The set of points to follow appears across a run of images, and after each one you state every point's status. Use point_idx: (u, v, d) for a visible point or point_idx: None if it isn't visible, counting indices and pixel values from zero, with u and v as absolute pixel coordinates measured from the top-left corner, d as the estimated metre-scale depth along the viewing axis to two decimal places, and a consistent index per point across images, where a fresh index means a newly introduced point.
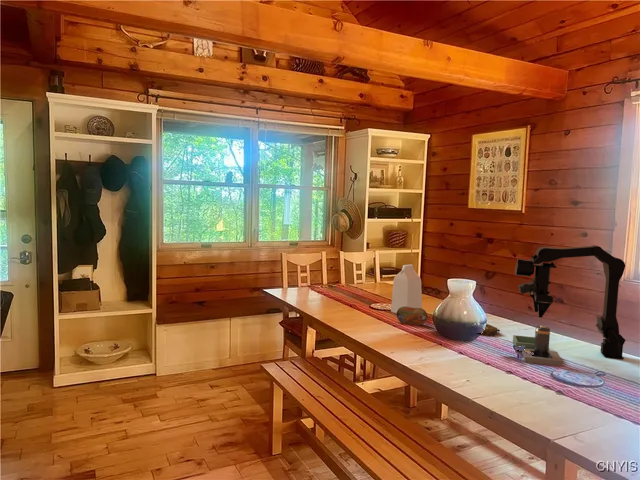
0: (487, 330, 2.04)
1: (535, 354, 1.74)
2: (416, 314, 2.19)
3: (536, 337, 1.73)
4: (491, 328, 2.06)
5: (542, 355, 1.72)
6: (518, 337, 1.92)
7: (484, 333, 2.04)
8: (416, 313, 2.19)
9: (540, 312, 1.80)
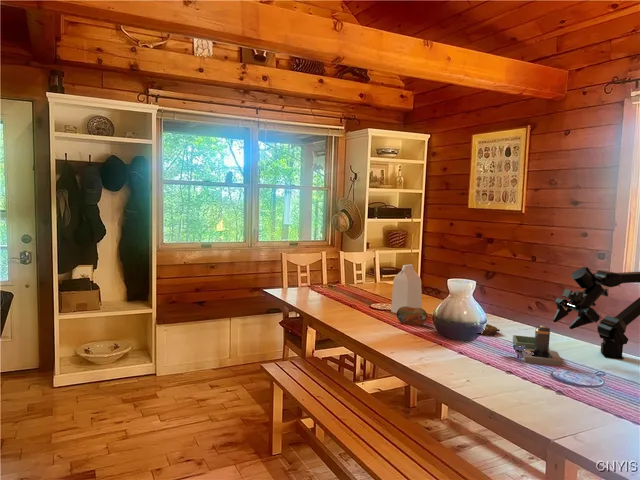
0: (487, 330, 2.04)
1: (535, 354, 1.74)
2: (416, 314, 2.19)
3: (536, 337, 1.73)
4: (491, 328, 2.06)
5: (542, 355, 1.72)
6: (518, 337, 1.92)
7: (484, 333, 2.04)
8: (416, 313, 2.19)
9: (574, 324, 1.69)
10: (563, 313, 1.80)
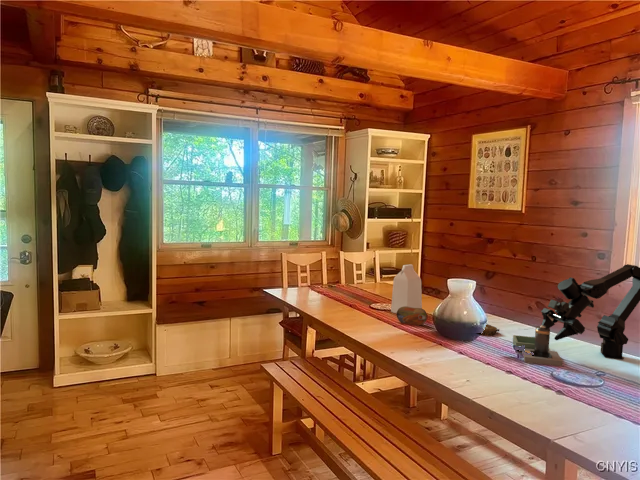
0: (487, 330, 2.04)
1: (535, 354, 1.74)
2: (416, 314, 2.19)
3: (536, 337, 1.73)
4: (491, 328, 2.06)
5: (542, 355, 1.72)
6: (518, 337, 1.92)
7: (484, 333, 2.04)
8: (416, 313, 2.19)
9: (560, 335, 1.69)
10: (549, 324, 1.79)
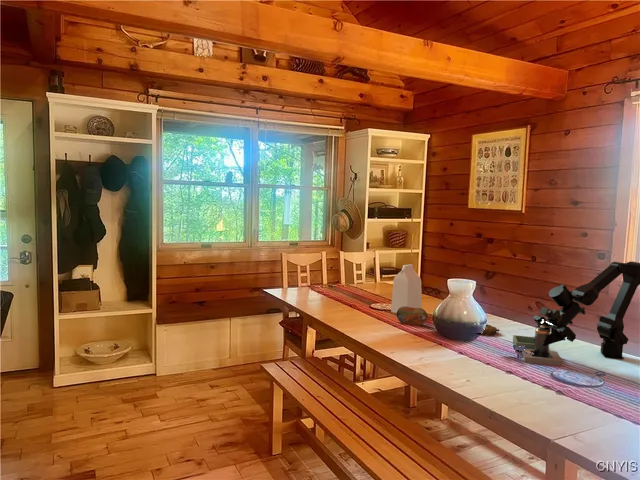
0: (487, 330, 2.04)
1: (535, 354, 1.74)
2: (416, 314, 2.19)
3: (536, 337, 1.73)
4: (491, 328, 2.06)
5: (542, 355, 1.72)
6: (518, 337, 1.92)
7: (484, 333, 2.04)
8: (416, 313, 2.19)
9: (548, 341, 1.70)
10: None
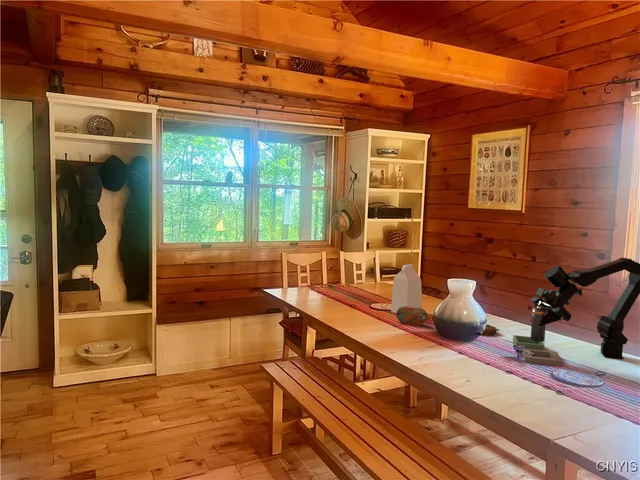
0: (487, 330, 2.04)
1: (532, 334, 1.76)
2: (416, 314, 2.19)
3: (532, 318, 1.76)
4: (490, 328, 2.06)
5: (538, 335, 1.74)
6: (518, 337, 1.92)
7: (484, 333, 2.04)
8: (416, 313, 2.19)
9: (544, 321, 1.73)
10: None
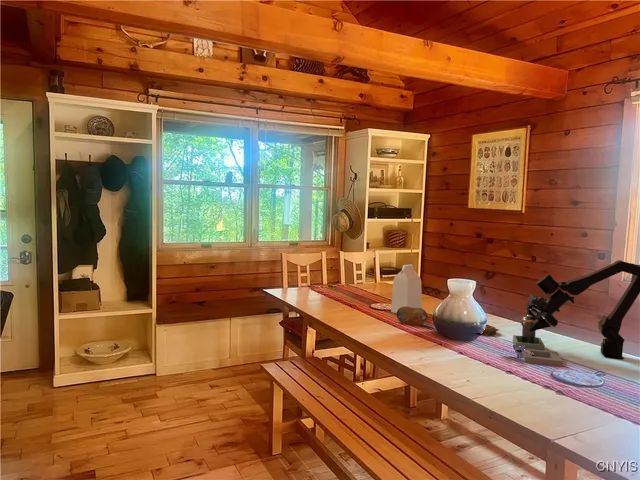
0: (486, 330, 2.04)
1: (522, 341, 1.87)
2: (416, 314, 2.19)
3: (523, 325, 1.87)
4: (490, 328, 2.06)
5: (528, 342, 1.85)
6: (518, 337, 1.92)
7: (484, 333, 2.04)
8: (416, 313, 2.19)
9: (534, 327, 1.82)
10: None
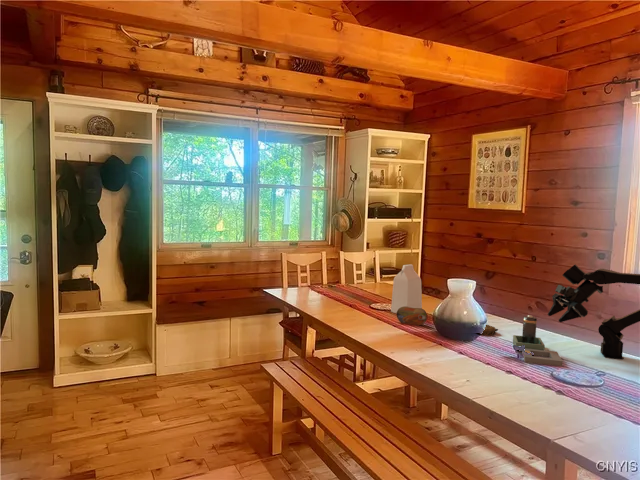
0: (486, 330, 2.04)
1: (522, 341, 1.87)
2: (416, 314, 2.19)
3: (523, 326, 1.86)
4: (490, 328, 2.06)
5: None
6: (518, 337, 1.92)
7: (483, 333, 2.04)
8: (416, 313, 2.19)
9: (564, 317, 1.80)
10: (558, 308, 1.90)
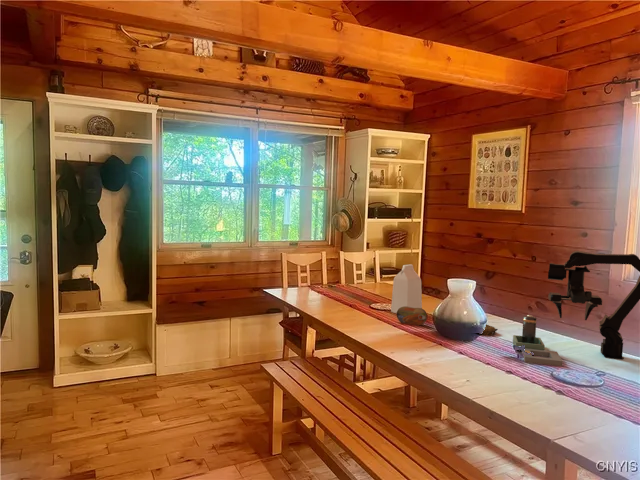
0: (486, 330, 2.04)
1: (522, 341, 1.87)
2: (416, 314, 2.19)
3: (523, 325, 1.87)
4: (489, 328, 2.06)
5: (528, 342, 1.85)
6: (518, 337, 1.92)
7: (483, 333, 2.04)
8: (416, 313, 2.19)
9: None
10: None
